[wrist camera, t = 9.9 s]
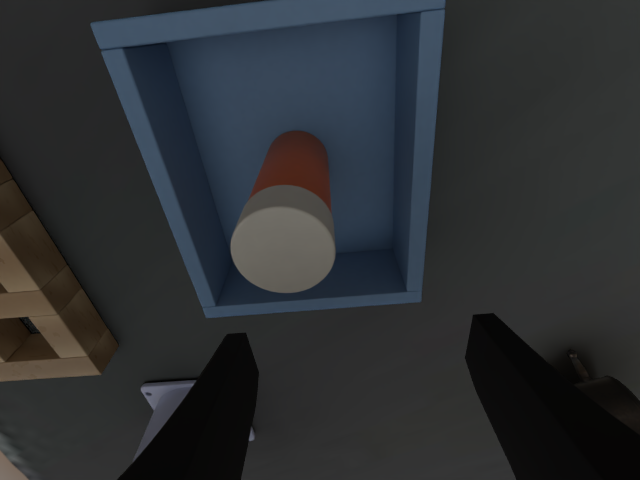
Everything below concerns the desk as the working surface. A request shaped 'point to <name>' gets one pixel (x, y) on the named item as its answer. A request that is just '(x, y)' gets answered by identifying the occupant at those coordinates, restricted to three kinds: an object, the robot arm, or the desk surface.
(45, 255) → the pen rack
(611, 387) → the alarm clock
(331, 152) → the bin
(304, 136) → the pill bottle
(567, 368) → the desk surface
